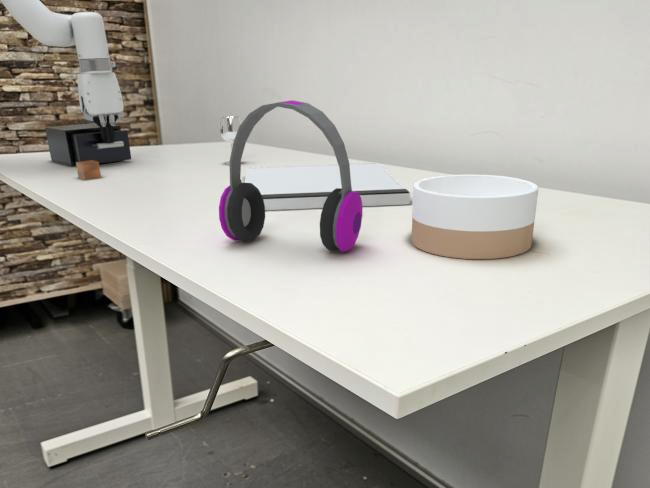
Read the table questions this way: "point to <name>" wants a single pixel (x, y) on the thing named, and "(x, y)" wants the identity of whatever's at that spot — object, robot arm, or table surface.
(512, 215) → the bowl
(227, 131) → the wineglass
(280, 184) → the pale grey flat slab
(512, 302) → the table surface
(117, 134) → the black drawer
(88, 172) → the block
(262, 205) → the headphones
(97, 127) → the drawer box
